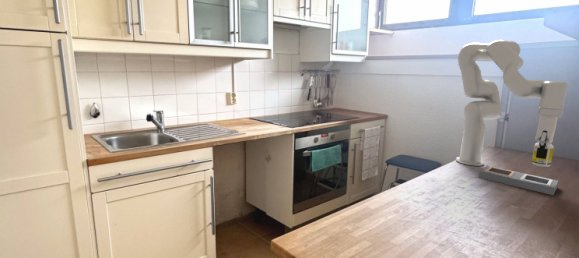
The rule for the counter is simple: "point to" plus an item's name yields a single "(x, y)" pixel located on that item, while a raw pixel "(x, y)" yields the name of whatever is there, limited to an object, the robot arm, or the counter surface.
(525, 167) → the counter surface
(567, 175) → the counter surface
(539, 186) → the socket stand
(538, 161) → the pill bottle
